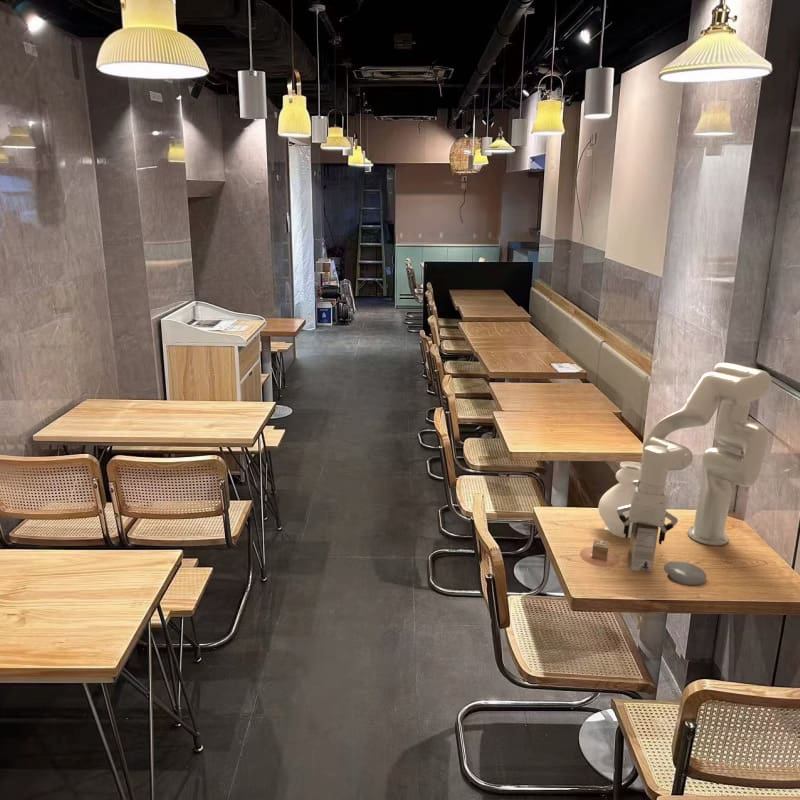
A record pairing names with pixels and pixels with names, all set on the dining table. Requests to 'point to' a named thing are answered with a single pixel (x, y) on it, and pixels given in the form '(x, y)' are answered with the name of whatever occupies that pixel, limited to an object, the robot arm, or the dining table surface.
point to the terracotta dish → (587, 556)
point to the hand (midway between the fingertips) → (643, 539)
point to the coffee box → (642, 547)
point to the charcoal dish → (685, 573)
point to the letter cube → (600, 549)
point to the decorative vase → (619, 498)
